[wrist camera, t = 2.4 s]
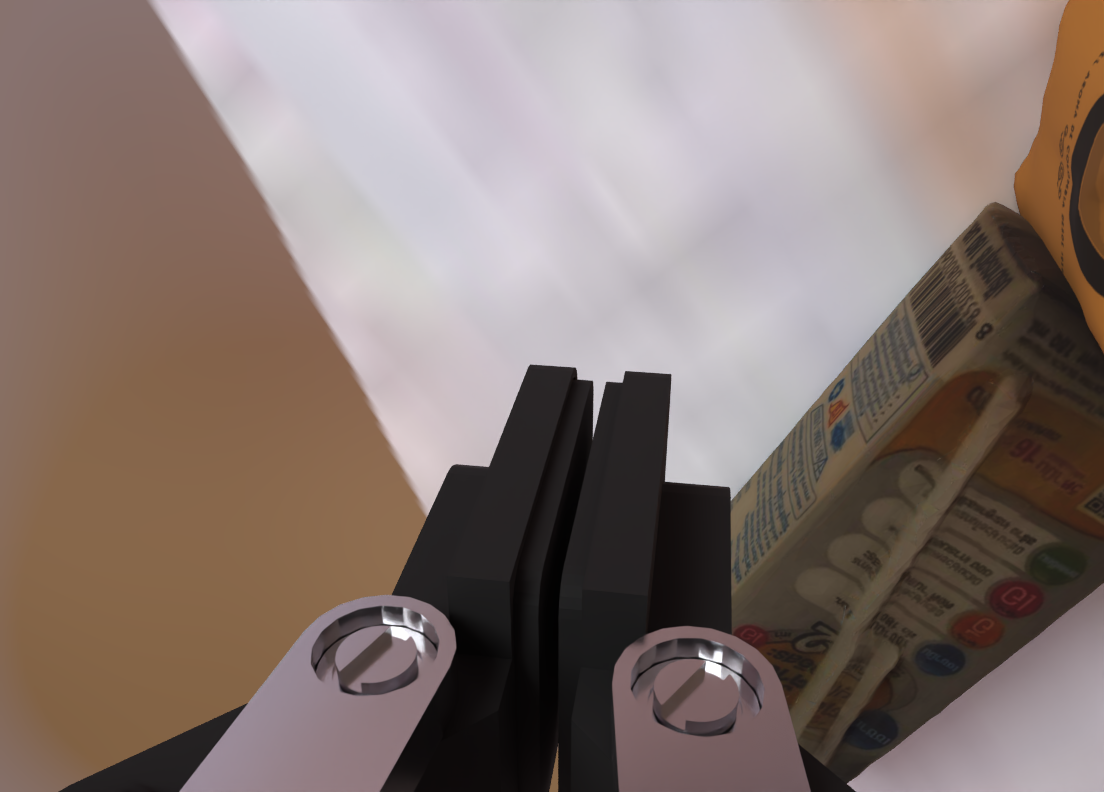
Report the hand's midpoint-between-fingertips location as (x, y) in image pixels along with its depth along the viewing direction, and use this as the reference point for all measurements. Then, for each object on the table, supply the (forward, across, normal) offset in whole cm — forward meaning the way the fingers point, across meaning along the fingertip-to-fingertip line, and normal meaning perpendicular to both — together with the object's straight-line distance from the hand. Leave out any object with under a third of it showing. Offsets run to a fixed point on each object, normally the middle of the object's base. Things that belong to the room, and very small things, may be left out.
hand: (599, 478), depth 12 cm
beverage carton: (+19, -8, +12) cm, 24 cm away
